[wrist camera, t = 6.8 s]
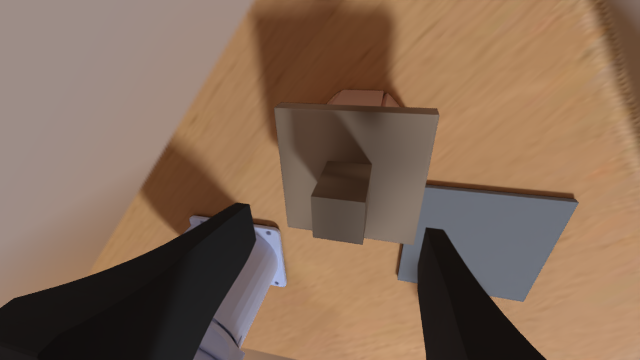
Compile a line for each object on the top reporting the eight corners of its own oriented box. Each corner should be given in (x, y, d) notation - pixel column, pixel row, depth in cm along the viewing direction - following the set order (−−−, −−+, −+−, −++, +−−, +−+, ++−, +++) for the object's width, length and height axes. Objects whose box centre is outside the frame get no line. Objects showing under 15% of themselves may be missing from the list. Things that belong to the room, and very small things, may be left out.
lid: (292, 217, 19) (266, 267, 15) (280, 102, 15) (241, 132, 11) (413, 234, 17) (416, 294, 14) (436, 108, 13) (451, 146, 9)
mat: (397, 276, 25) (397, 279, 25) (413, 183, 20) (413, 186, 20) (521, 297, 23) (523, 301, 23) (575, 199, 18) (578, 202, 17)
